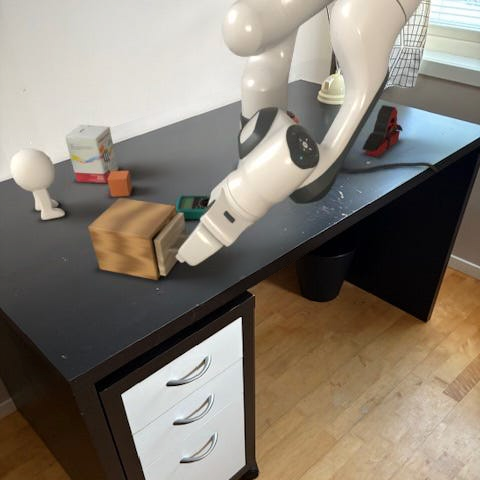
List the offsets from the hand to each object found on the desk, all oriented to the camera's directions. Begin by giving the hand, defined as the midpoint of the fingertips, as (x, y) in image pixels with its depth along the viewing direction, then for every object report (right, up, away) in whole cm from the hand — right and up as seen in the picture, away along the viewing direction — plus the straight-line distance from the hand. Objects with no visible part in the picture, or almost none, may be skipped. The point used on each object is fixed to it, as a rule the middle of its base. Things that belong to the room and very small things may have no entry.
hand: (189, 244), depth 90 cm
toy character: (-36, +11, +22) cm, 43 cm away
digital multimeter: (+2, +10, +20) cm, 22 cm away
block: (-20, +17, +28) cm, 39 cm away
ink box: (-28, +24, +36) cm, 52 cm away
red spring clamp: (+49, +33, +43) cm, 73 cm away
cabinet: (-10, -2, +7) cm, 12 cm away
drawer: (-6, -2, +5) cm, 8 cm away
